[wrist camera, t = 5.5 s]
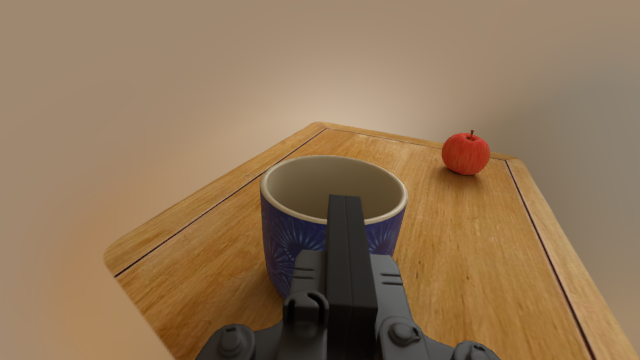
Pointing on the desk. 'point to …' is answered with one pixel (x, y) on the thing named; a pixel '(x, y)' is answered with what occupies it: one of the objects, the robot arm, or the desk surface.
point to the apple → (465, 153)
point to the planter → (324, 208)
